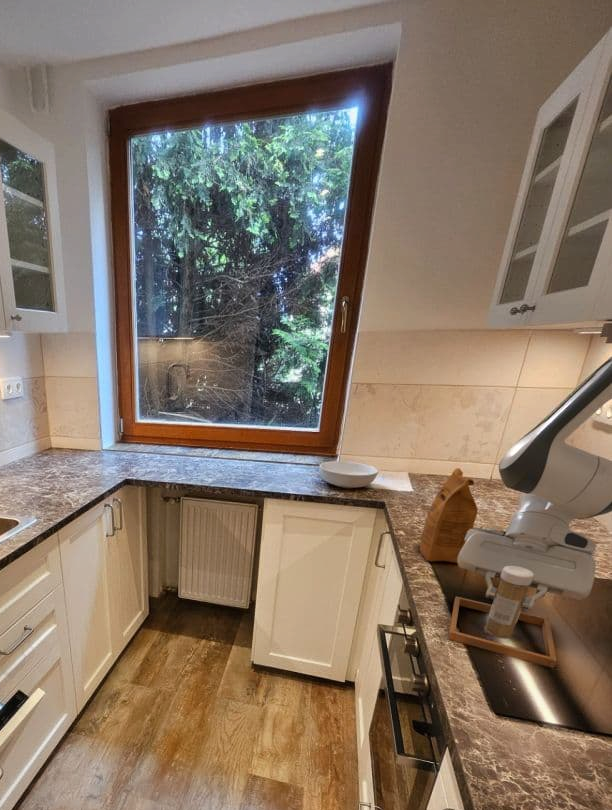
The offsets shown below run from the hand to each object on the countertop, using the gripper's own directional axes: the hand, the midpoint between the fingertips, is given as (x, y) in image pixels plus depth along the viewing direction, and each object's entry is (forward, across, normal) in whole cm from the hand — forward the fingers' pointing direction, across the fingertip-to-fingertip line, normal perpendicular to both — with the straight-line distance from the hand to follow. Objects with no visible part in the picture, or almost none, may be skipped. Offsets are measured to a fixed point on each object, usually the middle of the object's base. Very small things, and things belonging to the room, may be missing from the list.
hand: (507, 602), depth 86 cm
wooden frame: (+5, 0, +6) cm, 8 cm away
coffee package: (-18, -18, +29) cm, 39 cm away
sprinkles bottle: (+5, 0, +6) cm, 7 cm away
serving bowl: (-50, -63, +61) cm, 102 cm away
